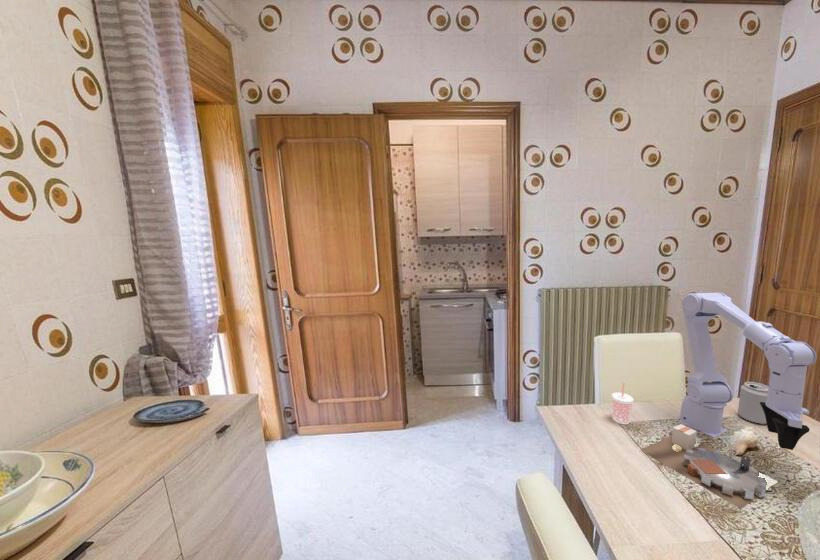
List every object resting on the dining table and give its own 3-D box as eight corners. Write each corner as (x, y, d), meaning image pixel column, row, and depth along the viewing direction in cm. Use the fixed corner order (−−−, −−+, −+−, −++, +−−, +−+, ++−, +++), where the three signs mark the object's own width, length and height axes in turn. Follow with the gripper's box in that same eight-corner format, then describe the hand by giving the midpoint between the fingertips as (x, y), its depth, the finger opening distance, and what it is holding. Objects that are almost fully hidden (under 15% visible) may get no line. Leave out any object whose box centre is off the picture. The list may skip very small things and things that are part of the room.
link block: (671, 442, 96) (673, 427, 95) (679, 439, 97) (681, 423, 96) (687, 450, 92) (689, 434, 91) (695, 446, 94) (697, 430, 93)
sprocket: (670, 464, 87) (672, 447, 86) (702, 448, 93) (704, 431, 92) (746, 508, 73) (749, 488, 72) (777, 485, 79) (781, 466, 78)
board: (639, 451, 93) (640, 450, 93) (678, 433, 101) (678, 432, 100) (740, 511, 73) (740, 508, 73) (779, 483, 80) (779, 481, 80)
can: (735, 410, 112) (739, 378, 110) (766, 417, 108) (771, 383, 106) (740, 420, 106) (744, 387, 104) (773, 428, 102) (778, 393, 100)
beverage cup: (623, 429, 104) (626, 389, 102) (605, 419, 109) (608, 381, 107) (635, 424, 106) (639, 384, 104) (617, 414, 112) (620, 377, 110)
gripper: (825, 406, 71) (818, 462, 73) (797, 381, 83) (791, 430, 85) (779, 398, 75) (773, 451, 77) (758, 376, 87) (753, 422, 89)
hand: (779, 439), depth 81 cm, fingers open, 7 cm apart
